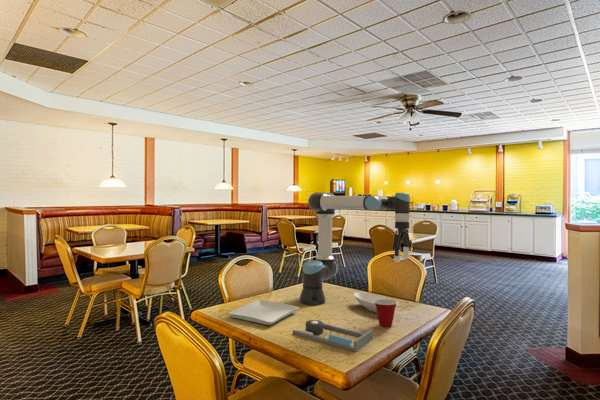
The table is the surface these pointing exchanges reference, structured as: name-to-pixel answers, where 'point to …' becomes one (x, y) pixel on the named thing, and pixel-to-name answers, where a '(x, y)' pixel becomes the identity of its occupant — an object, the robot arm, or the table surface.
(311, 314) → the table surface
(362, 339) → the gray u-shaped frame
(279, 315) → the square plate
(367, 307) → the bowl
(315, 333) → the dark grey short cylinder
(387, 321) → the plastic cup
